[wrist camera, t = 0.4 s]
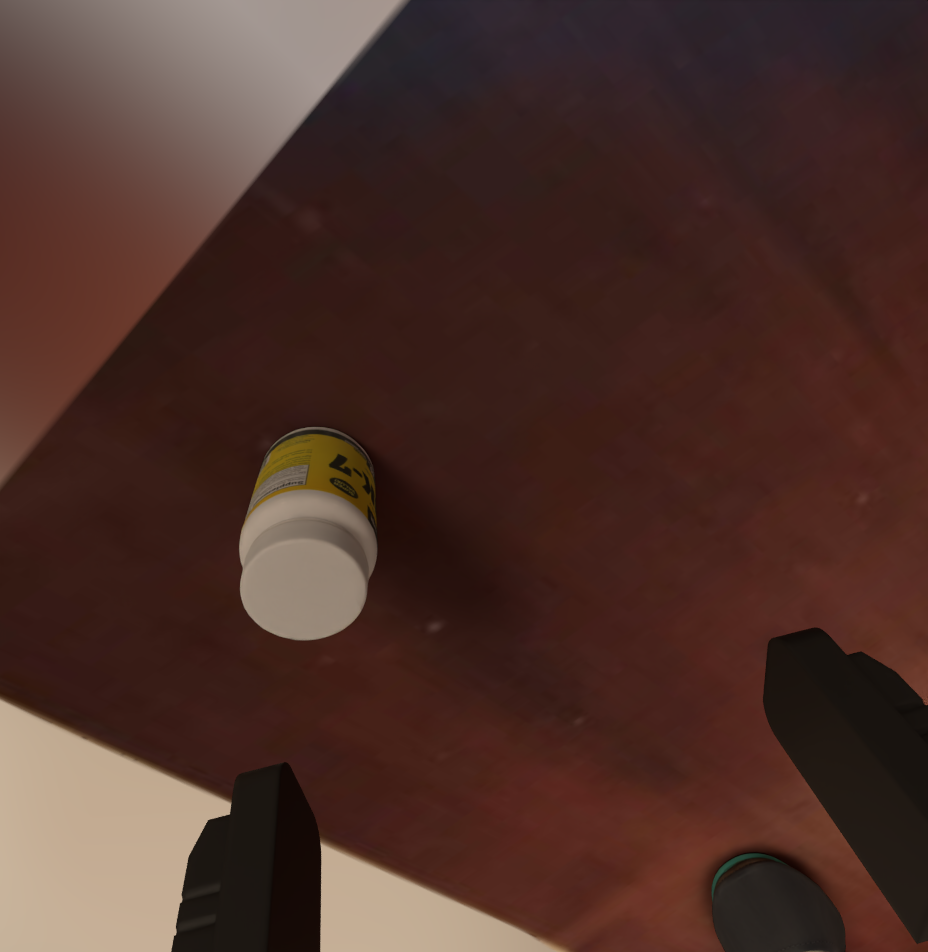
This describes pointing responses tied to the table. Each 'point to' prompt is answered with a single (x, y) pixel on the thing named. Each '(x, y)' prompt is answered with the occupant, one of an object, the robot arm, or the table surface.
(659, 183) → the table surface
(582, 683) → the table surface
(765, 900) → the ballet flat
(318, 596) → the supplement bottle
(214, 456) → the table surface
